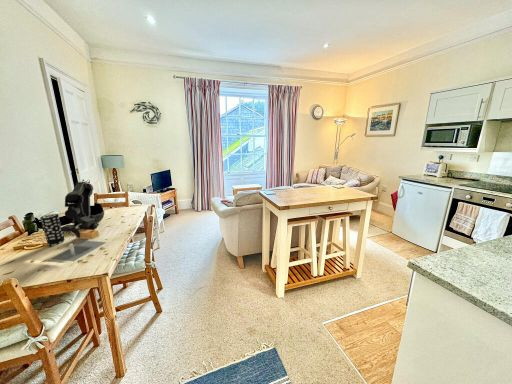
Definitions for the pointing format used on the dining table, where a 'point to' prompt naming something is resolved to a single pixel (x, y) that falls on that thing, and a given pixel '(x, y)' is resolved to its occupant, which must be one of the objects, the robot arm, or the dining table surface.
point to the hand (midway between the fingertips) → (82, 235)
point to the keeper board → (78, 250)
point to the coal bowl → (97, 212)
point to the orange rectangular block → (88, 234)
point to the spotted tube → (52, 229)
